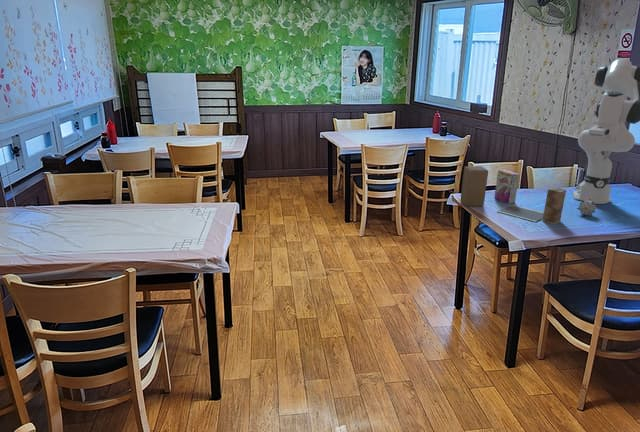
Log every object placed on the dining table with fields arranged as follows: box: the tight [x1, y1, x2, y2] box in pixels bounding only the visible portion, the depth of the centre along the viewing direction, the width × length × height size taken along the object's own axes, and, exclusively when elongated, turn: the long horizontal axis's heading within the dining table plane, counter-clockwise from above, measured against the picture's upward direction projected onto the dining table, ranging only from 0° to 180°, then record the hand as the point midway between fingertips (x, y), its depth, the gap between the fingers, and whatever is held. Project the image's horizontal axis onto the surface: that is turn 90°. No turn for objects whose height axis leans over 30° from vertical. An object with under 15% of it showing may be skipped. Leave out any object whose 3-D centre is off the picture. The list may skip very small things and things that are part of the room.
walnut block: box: [542, 186, 567, 225], centre depth 219 cm, size 6×6×16 cm
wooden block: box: [460, 165, 489, 207], centre depth 243 cm, size 10×10×20 cm
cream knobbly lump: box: [576, 199, 599, 217], centre depth 229 cm, size 9×8×10 cm
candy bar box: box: [493, 169, 520, 204], centre depth 249 cm, size 11×5×16 cm, turn 22°
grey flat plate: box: [496, 204, 544, 223], centre depth 231 cm, size 20×16×1 cm
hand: (599, 160), depth 205 cm, fingers open, 8 cm apart
